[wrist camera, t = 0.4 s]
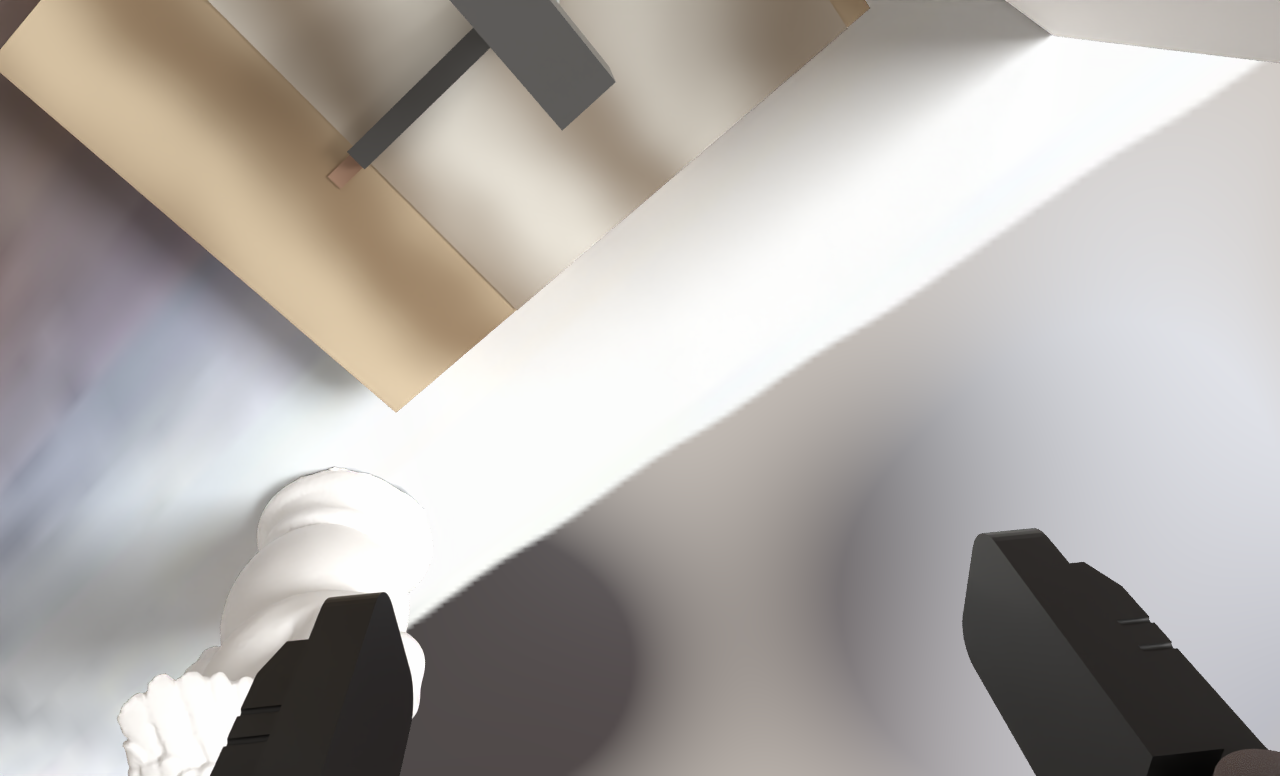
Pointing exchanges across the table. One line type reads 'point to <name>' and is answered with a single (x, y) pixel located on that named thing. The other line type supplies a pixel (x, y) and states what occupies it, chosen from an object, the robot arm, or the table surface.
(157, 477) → the table surface
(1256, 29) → the milk
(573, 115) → the lever
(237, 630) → the cherub figurine
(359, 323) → the dial board
